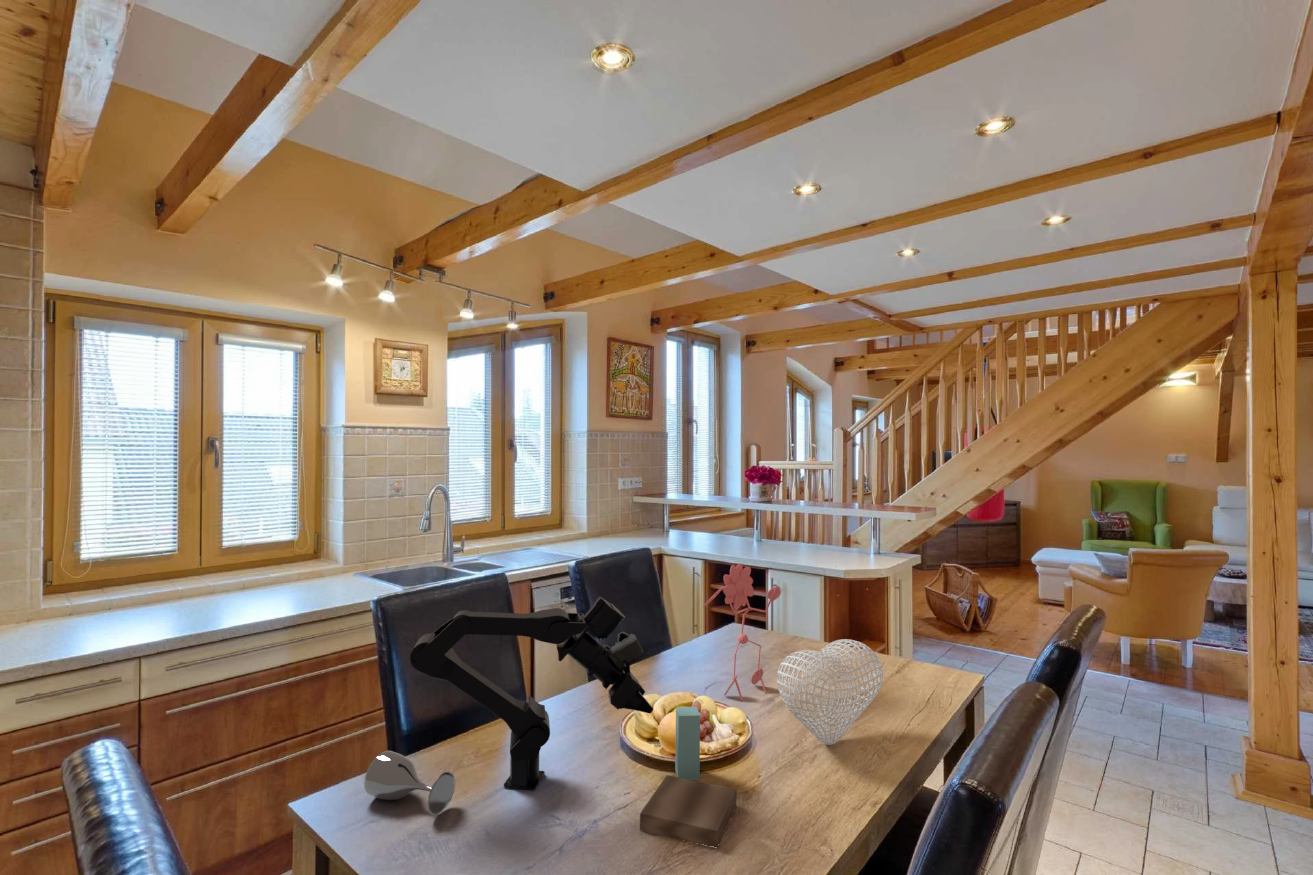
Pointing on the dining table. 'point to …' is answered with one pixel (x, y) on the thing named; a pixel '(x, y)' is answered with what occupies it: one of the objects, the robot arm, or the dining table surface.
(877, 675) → the heart
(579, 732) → the dining table surface
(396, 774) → the wine glass
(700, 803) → the walnut pedestal
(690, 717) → the teal block
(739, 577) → the flower headed figure
